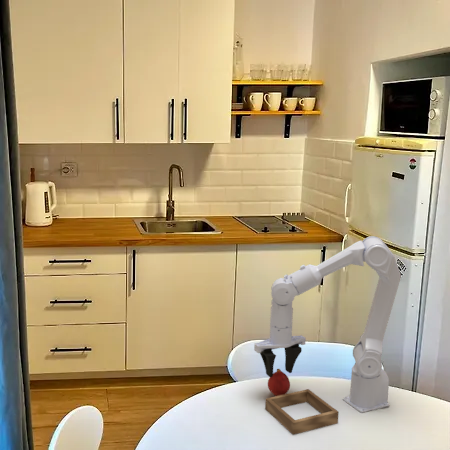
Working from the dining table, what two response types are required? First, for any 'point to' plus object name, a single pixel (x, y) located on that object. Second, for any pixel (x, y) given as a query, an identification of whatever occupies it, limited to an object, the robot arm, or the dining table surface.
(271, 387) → the onion
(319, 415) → the box
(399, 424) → the dining table surface
